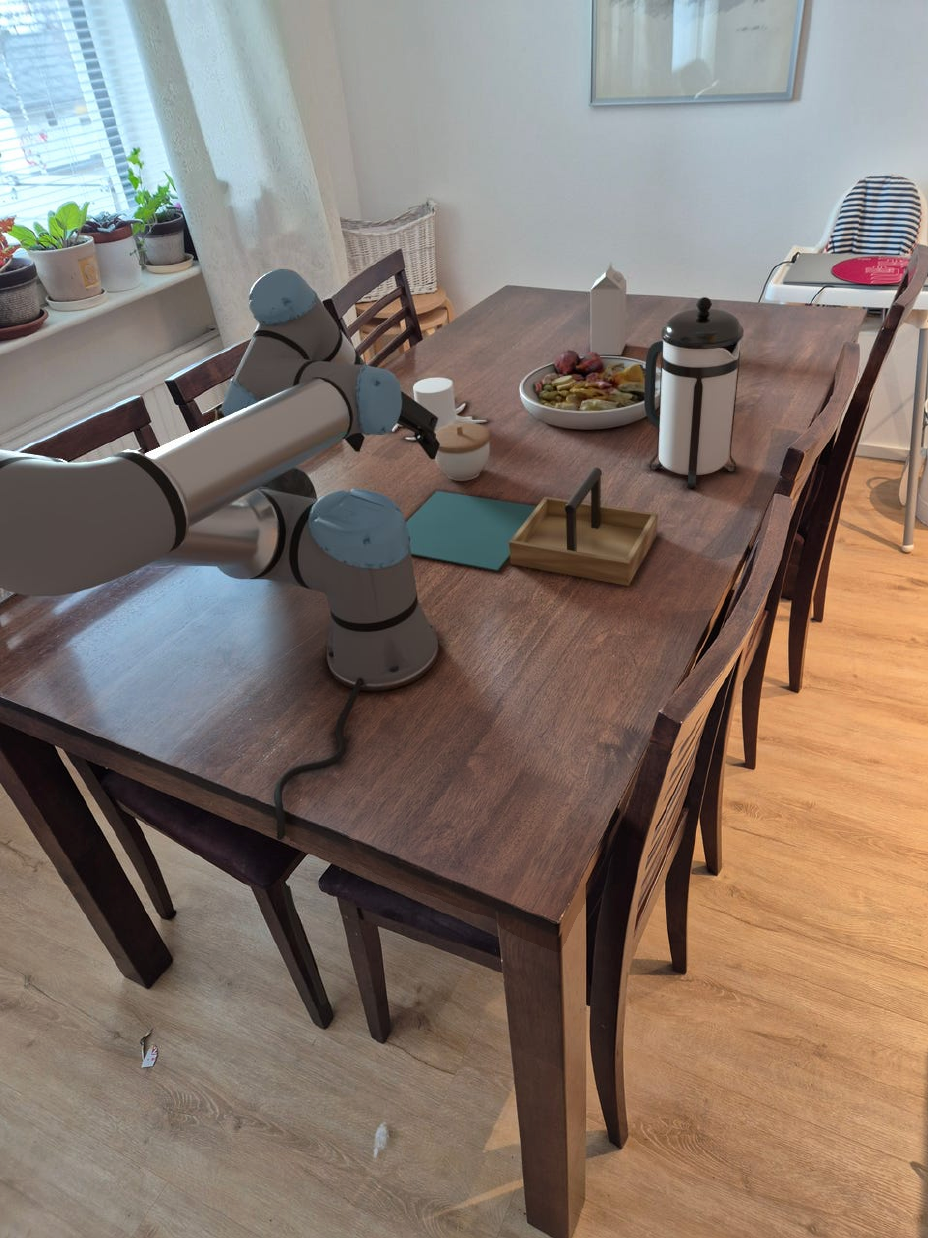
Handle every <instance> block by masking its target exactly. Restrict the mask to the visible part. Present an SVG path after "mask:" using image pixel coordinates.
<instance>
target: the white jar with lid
mask: <svg viewBox="0 0 928 1238" xmlns="http://www.w3.org/2000/svg"><path fill="white" fill-rule="evenodd" d="M434 432H435V434H436V439H437V440H438V442H439V443H440V445H439V448H438V451H437V454H436V457H435V459H434V460H435V463H436V465H437V467H438V468H439V469H440V471H441V472H442V473H444V474H445V475H446V476H447V477H448V478H449V479H451V480H453V481H458V482H465V481H466V482H467V481H470V480H474V479H476V478H478V476H480V474H481V472H483V470H484V469H485V467H486V466H487V464H488V462H489V458H490V452H491V442H490V439H491V436H490V435H491V433H490V430H489V429H488V428H487V427H486V426H484V425H483V424H481V423H455V424H450V425H447V426H444V427H441V428H439V429H438V430H434Z"/></svg>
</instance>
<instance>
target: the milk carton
mask: <svg viewBox="0 0 928 1238" xmlns="http://www.w3.org/2000/svg"><path fill="white" fill-rule="evenodd" d="M612 266H613V265H612V261H611V262H609V265H608V266H607V268H606V270H605V271H604V273H603V274H602V275H601V276H599V277H598V278H597V279H596V280H595V281H594V283H593V285H592V287H591V288H590V291H589V292H590V294H589V295H590V302H589V303H590V304H589V305H590V352H595V353H597V354H598V355H599V356H622V354H623V351H624V349H625V346H626V327H627V325H626V323H627V279H626V278H624V275H623V273H621V272H620V271H618V270H615V269H614V268H613V267H612Z"/></svg>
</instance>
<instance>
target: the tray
mask: <svg viewBox="0 0 928 1238" xmlns="http://www.w3.org/2000/svg"><path fill="white" fill-rule="evenodd" d="M602 474H603V471H602V470H601V468H600V467H594V468H593V469H592V470H591V471H590V472H589V473H588V475H587V477H586V478H585V479H584V481H583V482H582V483H581V485H580V486H579V487H578V488H577V490H576V491H575V493H574V494H573V495H572V497H571V498H570V499H565V498H560V497H559V498H558V497H551V496H544V497H543V499H541V501H540V502H539V503H538V505H536V506H537V507H536V509H535V510H534V511H533V512H532V514H531V515H530V516H529V517H528V519H527V520H526V521H525V523H524V524H523V525H522V526H521V528H520V529H519V530H518V531H517V533H516V534H515V535H514V537H513V538H512V539H511V540H510V542H509V551H510V556H509V563H510V565H514V566H519V567H524V568H530V569H535V570H539V571H540V570H541V571H545V572H551V573H557V574H561V575H567V576H572V577H578V578H583V579H589V580H595V581H600V582H605V583H610V584H614V585H615V584H616V585H621V586H626V587H628V586H630V584H631V582H632V581H633V578H634V577H635V575H636V574H637V571H638V570H639V568H640V566H641V565H642V563H643V561H644V559H645V557H646V556H647V554H648V552H649V550H650V548H651V546H652V544H653V543H654V541H655V540H656V538H657V536H658V523H659V521H658V519H659V513H658V512H652V511H645V510H638V509H633V508H626V507H619V506H612V505H607V504H606V505H605V504H602V503H601V502H602V501H601V499H602V498H601V497H602V493H601V492H602V489H601V487H602V485H601V483H602V481H601V478H602ZM589 493H590V502H586V501H585V502H584V500H585V499H586V498H587V496H588V494H589Z"/></svg>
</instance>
